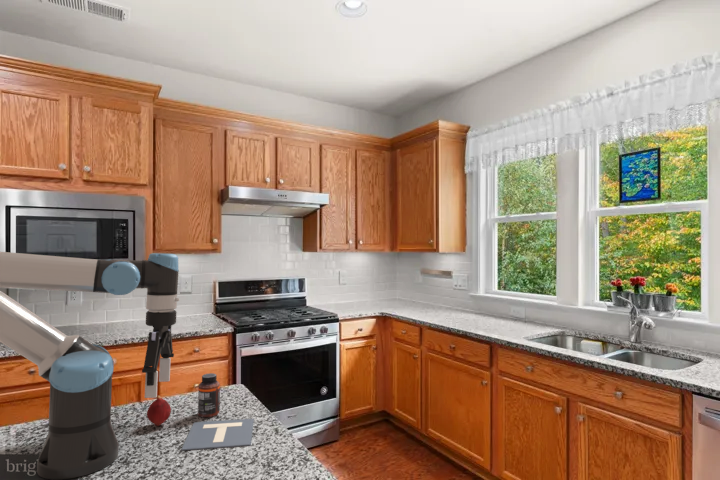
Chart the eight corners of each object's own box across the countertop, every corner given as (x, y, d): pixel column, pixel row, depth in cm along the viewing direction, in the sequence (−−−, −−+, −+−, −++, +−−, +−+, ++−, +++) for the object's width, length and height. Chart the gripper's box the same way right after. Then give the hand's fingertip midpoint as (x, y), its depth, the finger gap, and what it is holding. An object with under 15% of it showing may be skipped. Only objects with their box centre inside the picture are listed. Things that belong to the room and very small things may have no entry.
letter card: (181, 450, 101) (181, 448, 101) (193, 423, 116) (194, 421, 116) (250, 445, 104) (250, 443, 104) (253, 419, 119) (253, 418, 119)
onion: (174, 422, 117) (175, 392, 117) (162, 430, 111) (163, 400, 111) (154, 420, 118) (155, 391, 118) (142, 429, 112) (142, 399, 112)
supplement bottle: (215, 408, 127) (216, 370, 127) (222, 415, 122) (223, 375, 123) (194, 413, 123) (195, 374, 123) (201, 420, 119) (202, 379, 119)
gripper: (164, 317, 104) (160, 404, 103) (185, 304, 128) (182, 375, 127) (131, 317, 102) (127, 405, 102) (159, 304, 127) (155, 375, 126)
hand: (157, 389), depth 114 cm, fingers open, 13 cm apart
